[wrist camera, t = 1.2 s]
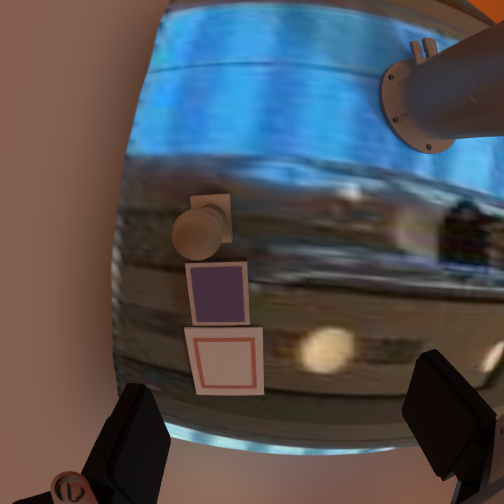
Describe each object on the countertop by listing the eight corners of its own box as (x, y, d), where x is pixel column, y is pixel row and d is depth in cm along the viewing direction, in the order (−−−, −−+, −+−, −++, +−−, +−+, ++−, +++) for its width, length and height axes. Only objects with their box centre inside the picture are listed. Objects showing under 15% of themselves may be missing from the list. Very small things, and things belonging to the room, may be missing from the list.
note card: (184, 327, 35) (183, 328, 35) (262, 326, 35) (262, 327, 34) (197, 393, 38) (196, 394, 38) (263, 393, 38) (263, 395, 38)
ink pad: (187, 260, 33) (184, 264, 31) (247, 258, 32) (247, 262, 31) (194, 320, 35) (192, 326, 33) (250, 319, 35) (249, 325, 33)
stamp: (194, 194, 31) (161, 207, 19) (230, 192, 30) (217, 203, 19) (198, 238, 32) (169, 274, 20) (232, 237, 32) (221, 273, 20)
